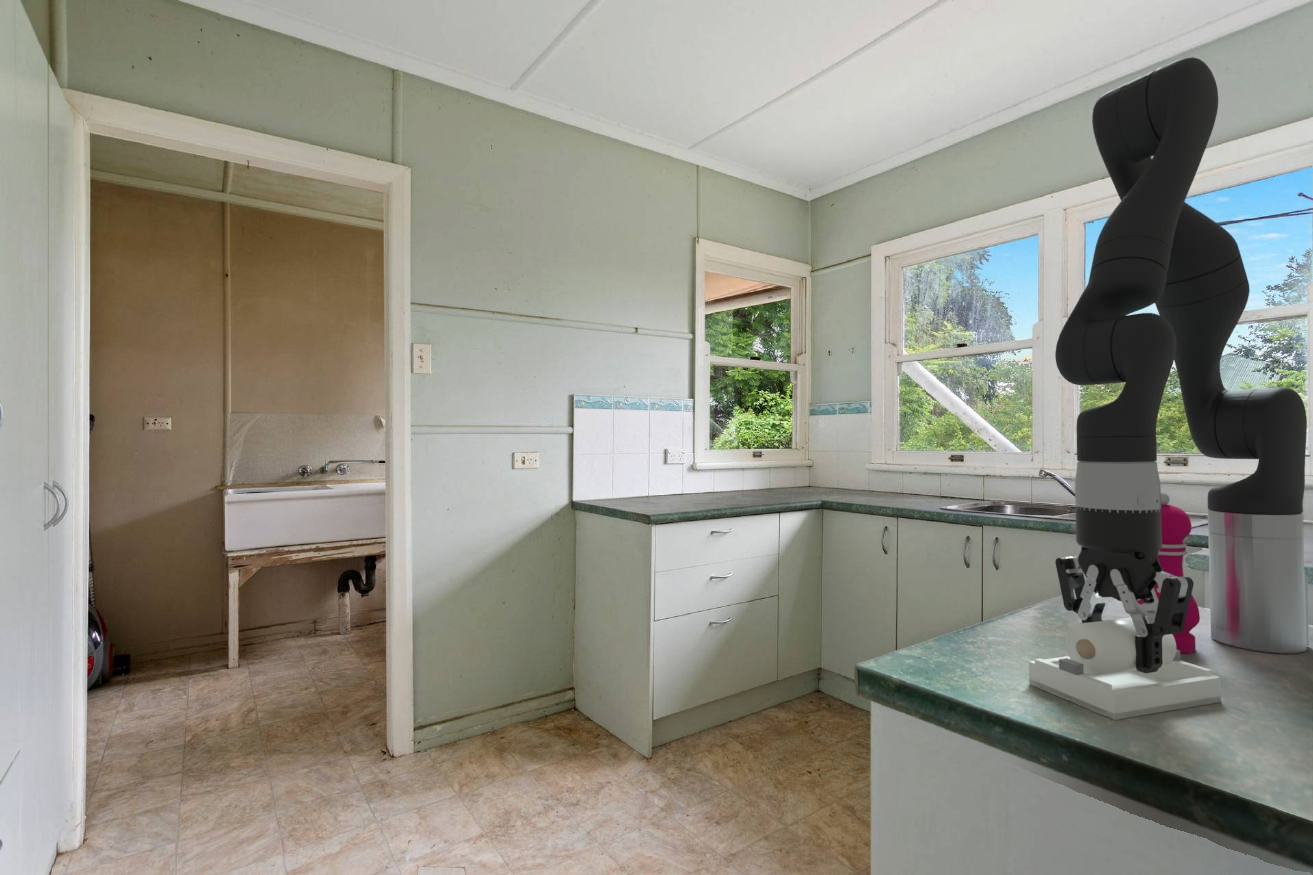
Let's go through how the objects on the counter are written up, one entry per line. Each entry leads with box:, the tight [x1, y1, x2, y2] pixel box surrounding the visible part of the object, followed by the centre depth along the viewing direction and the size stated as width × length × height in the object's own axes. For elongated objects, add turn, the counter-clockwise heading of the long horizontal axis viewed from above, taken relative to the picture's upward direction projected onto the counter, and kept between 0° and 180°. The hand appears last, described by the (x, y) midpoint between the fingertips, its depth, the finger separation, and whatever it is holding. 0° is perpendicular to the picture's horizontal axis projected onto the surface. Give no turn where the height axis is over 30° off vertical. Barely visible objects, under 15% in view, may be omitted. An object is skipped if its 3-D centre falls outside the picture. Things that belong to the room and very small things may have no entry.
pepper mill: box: [1137, 491, 1201, 654], centre depth 85 cm, size 7×7×20 cm
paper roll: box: [1064, 617, 1176, 675], centre depth 70 cm, size 10×5×5 cm, turn 106°
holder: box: [1028, 650, 1222, 721], centre depth 70 cm, size 14×10×4 cm
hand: (1120, 662), depth 70 cm, fingers closed on paper roll, 5 cm apart
